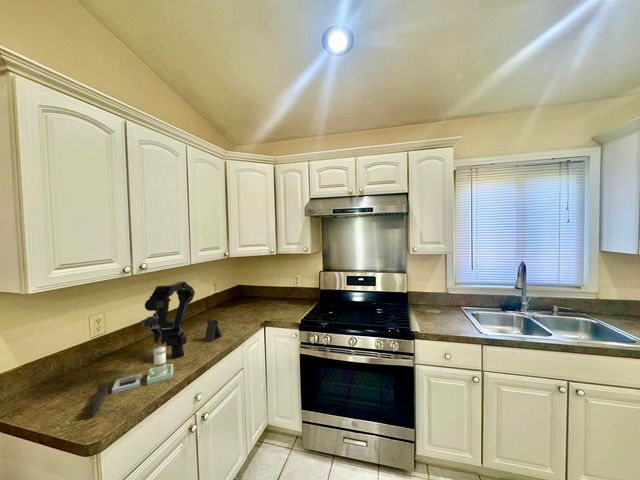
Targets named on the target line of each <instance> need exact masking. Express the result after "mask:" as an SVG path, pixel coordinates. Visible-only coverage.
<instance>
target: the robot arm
mask: <svg viewBox="0 0 640 480" xmlns="http://www.w3.org/2000/svg"><path fill="white" fill-rule="evenodd" d="M174 293H176V294H177V300H178V302H179V303H178V306H177V310H176V312H175V318H174V321H169V315H170V314H171V313H170V312H169V308H170V302H172V300H171V298H170V297H171V296H173V295H174ZM195 293H196V292H195V290H194V288H193V286H191V285H189V284H188V283H187V281H177V282H175V283H172V284H169V285H157V286H156V287H155V289H154V290H153V292H152V294H151V296H149V299H147V300H146V301H145V303H144V309H145V310H147V312H148V311H149V312H152V311H153V312H154V313H153V314H152V316H148V317H146V318H144V319H142V320H140V322H141V323H140V324H141V326H142V328H147V329H148V330H149V331H150V332H151V333H152V337H153V342H154V344H156V343H158V341H159V340H160V344H161V345H164V344H166V347H170V351H171V352H170V359H171V360H172V359H176V358H181V357H184V356H185V351H184V345H186V344H187V337H186V336H185V335H184V334H185V331H184V329H183V326H184V321H185V319H186V314H187V312H188V311H187V310H188V307H189V304H190V303H191V302H192V301H193V299H194V296H195Z"/></svg>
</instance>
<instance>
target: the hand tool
mask: <svg viewBox="0 0 640 480" xmlns="http://www.w3.org/2000/svg"><path fill="white" fill-rule="evenodd" d="M110 391H111V385H110V384H109V383H103V384H101V385H99V386H98V390H97V391H96V392H95V394H94V395H95V396H94V398H92V400H91V401H90V403H89V412H90V416H91V418H93V417H94V416H95V415H97V414H98V412H99V411H100V410H101V405H102V403H103V401H104V400H105V398H106V396H107V394H108V393H109V392H110Z"/></svg>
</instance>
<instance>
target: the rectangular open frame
mask: <svg viewBox="0 0 640 480" xmlns="http://www.w3.org/2000/svg"><path fill="white" fill-rule="evenodd" d="M142 377H143V376H142V373H139V374H134V375H131V376H126V377H122V378H118V379H116V380H115V382H114V384H113V387H112V389H111V394H116V393H119V392H123V391H124V392H125V391H128V390H132V389H136V388H139V387H140V384H141V382H142V381H141V380H142ZM132 381H135V382H133V383H128V382H132ZM124 383H128V384H125V385H121V384H124Z"/></svg>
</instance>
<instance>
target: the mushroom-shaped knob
mask: <svg viewBox="0 0 640 480" xmlns="http://www.w3.org/2000/svg"><path fill="white" fill-rule="evenodd" d="M166 352H167V346H163V345H162V346H161V345H160V346H157V347H155V348H153V349H152V354H153V362H154V363H153V366H154V367H153V368H155V372H154V375H155V377H157V376H161V375H165V374H167V368H166V365H167V354H166Z"/></svg>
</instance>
